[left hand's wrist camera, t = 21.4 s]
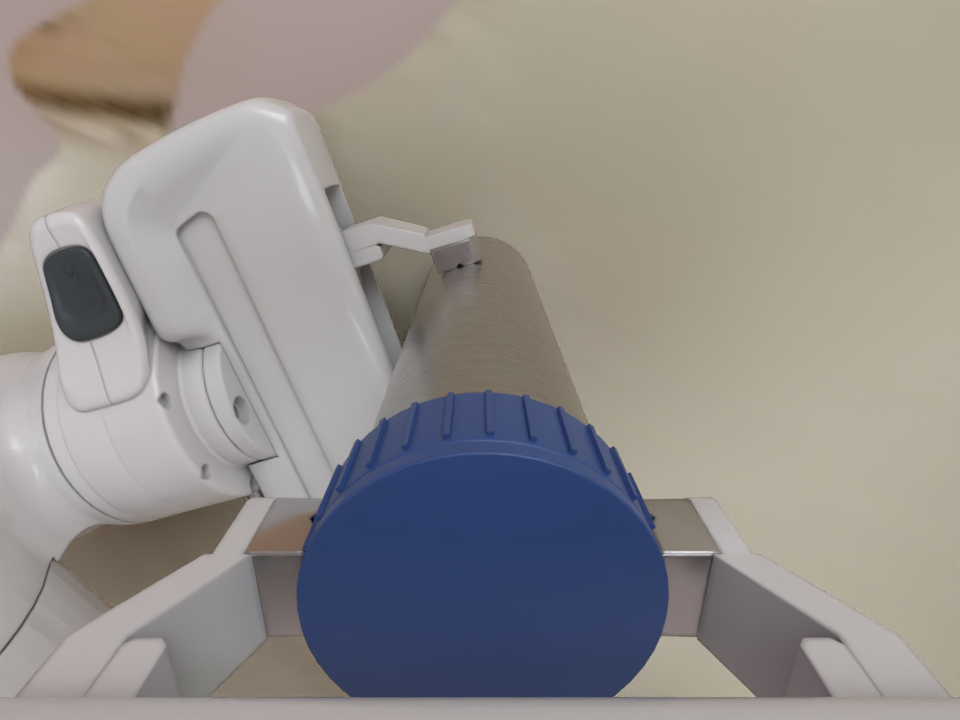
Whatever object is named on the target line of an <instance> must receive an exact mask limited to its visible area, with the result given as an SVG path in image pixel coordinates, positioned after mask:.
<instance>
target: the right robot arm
mask: <svg viewBox="0 0 960 720" xmlns="http://www.w3.org/2000/svg"><path fill="white" fill-rule="evenodd" d="M30 245H31V250H32V254H33V258H34V261H35V265H36V268H37V272H38V275H39V279H40V282H41V286H42V290H43V293H44V297H45V301H46V305H47V309H48V313H49V318H50V322H51V327H52V332H53V337H54V343H55V344H54V345H53V346H52V347H51V348H49V349H48V350H46V351H44V352H17V353H10V354H5V355H0V697H15V696H16V695H17V693H18V692H19V691H20V690H21V689H22V688H23V686H24V685H25V684H26V683H27V682H28V680H29V679H30V678H31V677H32V676H33V674H34V673H35V672H36V671H37V670H38V669H39V667H40V666H41V665H42V664H43V663H44V661H45V660H46V659H47V658H48V657H49V655H50V654H51V653H52V652H53V651H54V649H55V648H56V647H57V646H58V645H59V644H60V642H61V641H62V640H63V639H64V638H65V636H66V635H68V634H69V633H71V632H73V631H75V630H76V629H78V628H80V627H81V626H83V625H85V624H86V623H88V622H90V621H91V620H93V619H95V618H97V617H98V616H100V615H102V614H103V613H105V612H107V611H108V610H110V609H112V608H111V607H110V606H109V605H108V604H107V603H105V602H104V601H103V600H102V599H101V598H100V597H99V596H98V595H97V594H96V593H95V592H94V591H93V590H91V589H90V588H89V587H88V586H87V585H86V584H85V583H84V582H83V581H82V580H81V579H80V578H79V577H77V576H76V575H75V574H74V573H73V572H72V571H71V570H70V569H69V568H68V567H67V566H66V565H65V564H63V563H62V562H61V561H60V560H59V559H60V558H61V556H62V555H63V553H64V552H65V550H66V549H67V547H68V546H69V544H70V543H71V542H72V541H74V540H77V539H79V538H81V537H83V536H85V535H87V534H88V533H90V532H92V531H94V530H95V529H97V528H98V527H100V526H101V525H104V524H106V525H133V524H141V523H145V522H150V521H154V520H157V519H161V518H165V517H169V516H172V515H176V514H180V513H183V512H187V511H191V510H195V509H198V508H203V507H207V506H210V505H214V504H218V503H221V502H225V501H229V500H233V499H236V498H240V497H244V499H245V501H246V502H247V501H248V500H249V499H251V498H322V499H323V496H324V494H325V492H326V489H327V487H328V485H329V483H330V480H331V478H332V476H333V473H334V471H335V469H336V467H337V465H338V464H339V465H341V466H342V465H343V463H344V462H345V460H346V459H347V457H348V456H349V454H350V451H351V449H352V447H353V444H354V442H355V441H356V440H357V439H359V440H360V441H361V440H362V439H363V438H364V437H365V436H366V435H367V434H368V433H370V432H371V431H372V429H373V426H374V423H375V421H376V418H377V415H378V413H379V410H380V407H381V404H382V402H383V399H384V396H385V394H386V391H387V388H388V385H389V383H390V380H391V377H392V375H393V372H394V369H395V366H396V364H397V361H398V358H399V356H400V353H401V350H402V345H401V342H400V339H399V337H398V334H397V331H396V329H395V326H394V323H393V321H392V318H391V316H390V313H389V310H388V308H387V305H386V302H385V300H384V297H383V294H382V292H381V289H380V286H379V284H378V281H377V279H376V276H375V273H374V271H373V268H372V265H371V263H373V262H376V261H379V260H382V259H383V257H384V256H385V255H386V254H387V252H388V251H389V250H390V248H391V246H394V247H398V248H403V249H408V250H413V251H417V252H422V253H427V254H432V257H433V260H434V263H435V266H436V268H437V271H438V274H440V273H443V272H447V271H450V270H452V269H455V268H456V267H457V266H458V264H462V265H469V264H473V263H476V262H478V261H480V260H482V251H481V248H480V244H479V240H478V237H477V233H476V231H475V227H474V224H473V220H472V219H465V220H462V221H458V222H455V223H452V224H449V225H445V226H442V227H439V228H436V229H432V230H429V228H428V227H425V226H421V225H416V224H412V223H408V222H404V221H400V220H396V219H392V218H388V217H383V216H379V217H376V218H373V219H370V220H366V221H363V222H360V223H357V224H356V223H355V220H354V218H353V215H352V212H351V210H350V207H349V204H348V202H347V199H346V197H345V194H344V191H343V189H342V186H341V183H340V181H339V178H338V175H337V173H336V170H335V167H334V165H333V162H332V160H331V157H330V154H329V152H328V149H327V146H326V144H325V141H324V138H323V136H322V133H321V130H320V128H319V125H318V123H317V120H316V119H315V117H314V116H313V115H312V114H311V113H310V112H308V111H306V110H304V109H302V108H300V107H298V106H296V105H294V104H292V103H290V102H287V101H284V100H282V99H278V98H272V97H258V98H252V99H248V100H245V101H242V102H239V103H236V104H233V105H230V106H228V107H225V108H223V109H220V110H218V111H216V112H213V113H211V114H208V115H206V116H204V117H202V118H200V119H198V120H195V121H193V122H191V123H189V124H187V125H185V126H183V127H181V128H179V129H177V130H175V131H173V132H171V133H169V134H167V135H166V136H164V137H162V138H160V139H158V140H157V141H155V142H153V143H151V144H150V145H148V146H146V147H145V148H143V149H141V150H140V151H138V152H136V153H135V154H133V155H132V156H131V157H129V158H128V159H126V160H125V161H124V162H123V163H122V164H121V165H120V166H119V167H118V168H117V169H116V170H115V171H114V172H113V174H112V175H111V176H110V178H109V180H108V181H107V183H106V185H105V188H104V192H103V196H102V198H97V199H92V200H88V201H85V202H81V203H78V204H74V205H71V206H68V207H65V208H62V209H59V210H57V211H54V212H52V213H50V214H47V215H45V216H43V217H41V218H39V219H37V220H36V221H35V222H34V223H33V224H32V226H31V229H30Z"/></svg>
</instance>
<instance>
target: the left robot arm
mask: <svg viewBox="0 0 960 720" xmlns="http://www.w3.org/2000/svg"><path fill="white" fill-rule="evenodd" d="M643 500H644V502H645V505H646V507H647V509H648V511H649V513H650V515H651V518H652V520H653V522H654V524H655V526H656V528H654V529H652V530H651V531H652V533H653V535H654V537H655V539H656V542H657V544H658V546H659V549H660V551H661V553H662V556H663V558H664V563H665V567H666V571H667V575H668V586H669V601H668V610H667V617H666V621H665V624H664V628H663V631H662V634H661V636H681V637H697V640H698V641H699V642H701V643H702V644H703V645H704V646H705V647H706V648H707V649H708V650H709V651H710V652H711V653H712V654H713V655H714V656H715V657H716V658H717V659H718V660H719V661H720V662H721V663H722V664H723V665H724V666H725V667H726V668H727V669H728V670H729V671H731V672H732V673H733V674H734V675H735V676H736V677H737V678H738V679H739V680H740V681H741V682H742V683H743V684H744V685H745V686H746V687H747V688H748V689H749V690H750V691H751V692H752V693H753V694H754V695H755V696H756V697H209V696H210V695H211V694H212V693H213V692H214V691H215V690H216V689H217V688H218V687H219V686H220V685H221V684H222V683H223V682H224V681H225V680H226V679H227V678H228V677H229V676H231V675H232V674H233V673H234V672H235V671H236V670H237V669H238V668H239V667H240V666H241V665H242V664H243V663H244V662H245V661H246V660H247V659H248V658H249V657H250V656H251V655H252V654H253V653H254V652H255V651H256V650H257V649H258V648H259V647H260V646H261V645H262V644H263V643H264V642H265V641H267V637H283V636H304V634H303V632H302V629H301V625H300V621H299V616H298V611H297V595H296V589H297V581H298V573H299V569H300V566H301V563H302V559H303V556H304V553H305V550H302V548H303V545H304V542H305V540H306V538H307V535H308V533H309V531H310V528H311V526H312V524H313V521H314V517H315V515H316V513H317V510H318V508H319V506H320V503H321V501H322V498H251V499H249V500H248V501H247V502H246V503H245V505H244V506H243V508H242V509H241V511H240V512H239V514H238V515H237V517H236V518H235V520H234V521H233V523H232V524H231V526H230V527H229V529H228V530H227V532H226V534H225V535H224V537H223V538H222V540H221V541H220V543H219V544H218V546H217V547H216V549H215V550H214V552H213V553H212V554H203V555H202V556H200V557H198V558H197V559H195V560H193V561H191V562H190V563H188V564H186V565H185V566H183V567H181V568H180V569H178V570H176V571H175V572H173V573H171V574H169V575H168V576H166V577H164V578H163V579H161V580H159V581H158V582H156V583H154V584H152V585H151V586H149V587H147V588H146V589H144V590H142V591H141V592H139V593H137V594H136V595H134V596H132V597H130V598H129V599H127V600H125V601H124V602H122V603H120V604H119V605H117V606H115V607H114V608H112V609H110V610H108V611H107V612H105V613H103V614H102V615H100V616H98V617H97V618H95V619H93V620H91V621H90V622H88V623H86V624H85V625H83V626H81V627H80V628H78V629H76V630H75V631H73V632H71V633H69V634H68V635H66V636H65V638H64V639H63V640H62V641H61V642H60V644H59V645H58V646H57V647H56V648H55V649H54V651H53V652H52V653H51V654H50V655H49V657H48V658H47V659H46V660H45V661H44V663H43V664H42V665H41V666H40V667H39V669H38V670H37V671H36V672H35V673H34V674H33V676H32V677H31V678H30V679H29V680H28V682H27V683H26V684H25V685H24V686H23V688H22V689H21V690H20V691H19V692H18V693H17V695H16V696H15V697H0V720H960V697H952V696H951V695H950V694H949V692H948V691H947V690H946V689H945V688H944V687H943V685H942V684H941V683H940V682H939V681H938V679H937V678H936V677H935V676H934V675H933V674H932V672H931V671H930V670H929V669H928V668H927V667H926V665H925V664H924V663H923V662H922V661H921V659H920V658H919V657H918V656H917V655H916V654H915V652H914V651H913V650H912V649H911V648H910V646H909V645H908V644H907V643H906V642H905V641H904V639H903V638H902V637H901V636H900V635H898V634H896V633H894V632H893V631H891V630H889V629H888V628H886V627H884V626H883V625H881V624H879V623H877V622H876V621H874V620H872V619H871V618H869V617H867V616H866V615H864V614H862V613H860V612H859V611H857V610H855V609H854V608H852V607H850V606H849V605H847V604H845V603H843V602H842V601H840V600H838V599H837V598H835V597H833V596H831V595H830V594H828V593H826V592H825V591H823V590H821V589H820V588H818V587H816V586H814V585H813V584H811V583H809V582H808V581H806V580H804V579H803V578H801V577H799V576H797V575H796V574H794V573H792V572H791V571H789V570H787V569H786V568H784V567H782V566H780V565H779V564H777V563H775V562H774V561H772V560H770V559H768V558H767V557H765V556H763V555H762V554H753V553H752V552H751V551H750V549H749V548H748V546H747V545H746V543H745V542H744V540H743V539H742V537H741V536H740V534H739V533H738V531H737V530H736V528H735V527H734V525H733V524H732V522H731V521H730V519H729V518H728V516H727V515H726V513H725V512H724V510H723V509H722V508H721V506H720V505H719V503H718V502H717V500H716V499H714V498H712V497H700V498H685V499H643Z"/></svg>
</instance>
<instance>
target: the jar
mask: <svg viewBox="0 0 960 720" xmlns="http://www.w3.org/2000/svg"><path fill="white" fill-rule="evenodd" d="M478 240H479V244H480V248H481V251H482V260H480V261H478V262H476V263H473V264H469V265H462V264H458V266H457V267H456V268H455V269H452V270H450V271H447V272H443V273H440V274H438V271H437V268H436V266H435V263H434V265H433V266H432V269H431V271H430V274H429V277H428V279H427V282H426V285H425V288H424V290H423V293H422V296H421V298H420V301H419V304H418V307H417V309H416V312H415V315H414V317H413V320H412V323H411V326H410V328H409V331H408V334H407V336H406V339H405V342H404V345H403V347H402V350H401V353H400V356H399V358H398V361H397V364H396V366H395V369H394V372H393V375H392V377H391V380H390V383H389V385H388V388H387V391H386V394H385V396H384V399H383V402H382V404H381V407H380V410H379V413H378V415H377V418H376V421H375V423H374V426H373V429H372V430H374V429H375V428H376V427H377V426H378V424H379V421H380V420H381V419H382V418H384V417H385V418H386V419H389V418H391V417H392V416H394V415H396V414H397V413H399V412H401V411H403V410H405V409H408V408H410V407H411V404H412V403H414V402H416V401H417V402H418V404H419V403H422V402H425V401H429V400H432V399H436V398H439V397H443V396H447V393H449V392H454V395H455V394H462V393H480V392H485V390H492V393H502V394H511V395H516V396H521V397H523V394H526V395H529V397H530V399H533V400H536V401H539V402H542V403H545V404H548V405H551V406H553V407H555V408H558V406H561V407H563V408H564V410H565V412H566V413H568V414H570V415H571V416H573V417H574V418H576V419H577V420H579V421H580V422H582V423H583V424H585V425H588V424H589V423H588V421H587V418H586V415H585V413H584V410H583V408H582V405H581V403H580V400H579V397H578V395H577V392H576V390H575V387H574V385H573V382H572V379H571V377H570V374H569V372H568V369H567V367H566V364H565V361H564V359H563V356H562V354H561V351H560V349H559V346H558V343H557V341H556V338H555V336H554V333H553V331H552V328H551V325H550V323H549V320H548V318H547V315H546V313H545V310H544V307H543V305H542V302H541V300H540V297H539V294H538V292H537V289H536V287H535V284H534V282H533V279H532V276H531V274H530V271H529V269H528V267H527V265H526V263H525V261H524V260H523V258H522V257H521V256H520V254H519V253H518V252H517V251H516V250H514V249H513V248H512V247H510V246H509V245H507V244H506V243H504V242H502V241H499V240H497V239H493V238H488V237H478Z"/></svg>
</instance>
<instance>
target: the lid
mask: <svg viewBox="0 0 960 720" xmlns="http://www.w3.org/2000/svg"><path fill="white" fill-rule="evenodd" d="M654 528H656V526H655V524H654V522H653V520H652V518H651V515H650V513H649V511H648V509H647V507H646V505H645V502H644V500H643V498H642V496H641V494H640V492H639V489H638V487H637V485H636V483H635V481H634V479H633V477H632V474H631V473H628V474H627V472H626V469H625V467H624V465H623V463H622V461H621V458H620V456H619V454H618V452H617V450H616V448H615V447H614V446H613V447H611V448H609V447H608V445H607V444H606V443H605V442H604V441H603V440H602V438H600V437H599V436H598V435H597V434H596V431H595V429H594V427H593V426H592V425H591V424H588V425H585V424H583V423H582V422H580V421H579V420H577V419H576V418H574V417H573V416H571V415H570V414H568V413H566V412H565V410H564V408H563V407H561V406H558V408H555V407H553V406H551V405H548V404H545V403H542V402H539V401H536V400H533V399H530V397H529V395H526V394H523V397H521V396H516V395H511V394H502V393H492V390H485V392H480V393H462V394H455V395H454V392H449V393H447V396H443V397H439V398H436V399H432V400H429V401H425V402H422V403H419V404H418V402H417V401H416V402H414V403H412V404H411V407H410V408H408V409H405V410H403V411H401V412H399V413H397V414H396V415H394V416H392V417H391V418H389V419H386V418H385V417H384V418H382V419H381V420H380V421H379V424H378V426H377V427H376V428H375V429H374V430H372V431H371V432H370V433H368V434H367V435H366V436H365V437H364V438H363V439H362V440H361V441H360V440H359V439H357V440H356V441H355V442H354V444H353V447H352V449H351V451H350V454H349V456H348V457H347V459H346V460H345V462H344V463H343V465H342V466H341V465H339V464H338V465H337V467H336V469H335V471H334V473H333V476H332V478H331V480H330V483H329V485H328V487H327V489H326V492H325V494H324V496H323V499H322V501H321V503H320V506H319V508H318V510H317V513H316V515H315V517H314V521H313V524H312V526H311V528H310V531H309V533H308V535H307V538H306V540H305V542H304V545H303V548H302V550H305V553H304V556H303V559H302V563H301V566H300V569H299V573H298V581H297V589H296V595H297V611H298V616H299V621H300V625H301V629H302V632H303V634H304V637H305V640H306V642H307V645H308V647H309V649H310V650H311V652H312V654H313V655H314V657H315V659H316V661H317V662H318V664H319V665H320V666H321V667H322V669H323V670H324V671H325V673H326V674H327V675H328V676H329V678H330V679H331V680H333V681H334V682H335V683H336V684H337V685H338V686H339V687H340V688H341V689H342V690H343V691H344V692H345V693H347V694H348V695H349V696H351V697H613V696H615V695H616V694H617V693H618V692H619V691H621V690H622V689H623V688H624V687H625V686H626V685H627V684H628V683H630V682H631V681H632V679H633V678H634V677H635V676H636V675H637V674H638V673H639V671H640V670H641V669H642V668H643V667H644V665H645V664H646V662H647V661H648V659H649V658H650V656H651V655H652V653H653V651H654V650H655V647H656V645H657V643H658V641H659V639H660V637H661V634H662V631H663V628H664V624H665V621H666V617H667V610H668V601H669V586H668V575H667V571H666V567H665V563H664V558H663V556H662V553H661V551H660V549H659V546H658V544H657V542H656V539H655V537H654V535H653V533H652V531H651V530H652V529H654Z"/></svg>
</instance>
